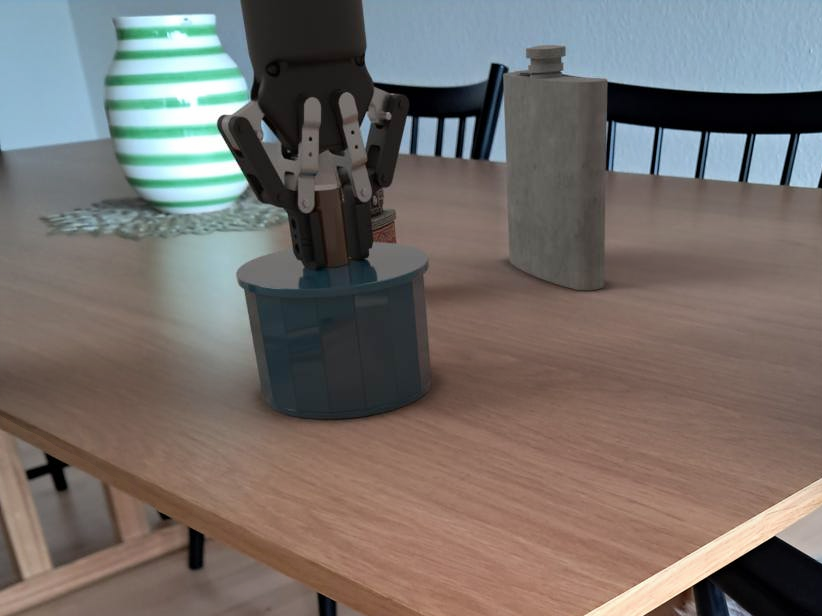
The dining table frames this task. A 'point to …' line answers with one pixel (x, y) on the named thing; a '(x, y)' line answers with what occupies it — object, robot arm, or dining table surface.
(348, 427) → the dining table surface
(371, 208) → the lighter
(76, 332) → the dining table surface
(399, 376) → the pot
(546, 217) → the hip flask
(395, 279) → the pot lid
